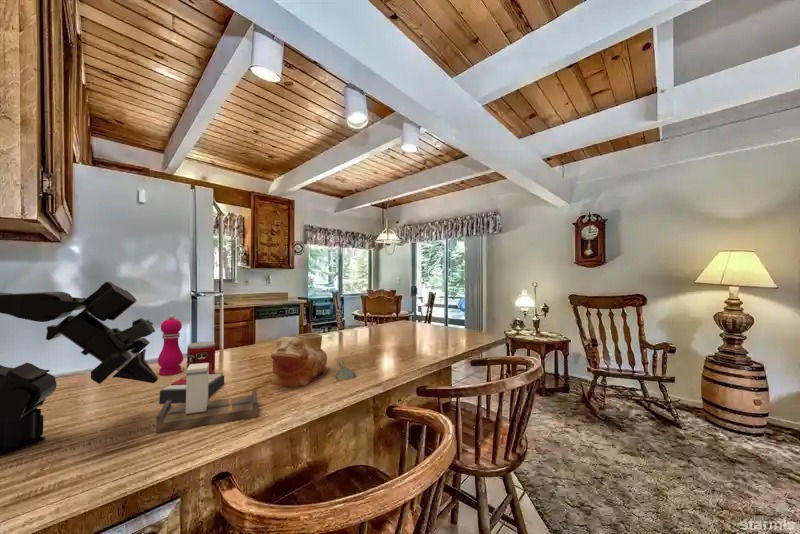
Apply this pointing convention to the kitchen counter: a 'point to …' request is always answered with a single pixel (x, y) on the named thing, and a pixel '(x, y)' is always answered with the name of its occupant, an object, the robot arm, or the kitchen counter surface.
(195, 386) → the slider knob
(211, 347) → the canned food
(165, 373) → the pepper mill
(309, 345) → the ceramic vessel
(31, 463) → the kitchen counter surface
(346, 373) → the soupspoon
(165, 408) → the panel
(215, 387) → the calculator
